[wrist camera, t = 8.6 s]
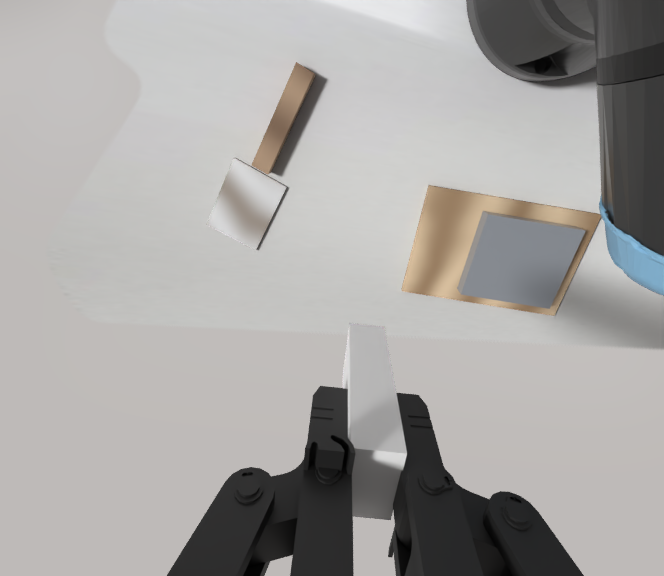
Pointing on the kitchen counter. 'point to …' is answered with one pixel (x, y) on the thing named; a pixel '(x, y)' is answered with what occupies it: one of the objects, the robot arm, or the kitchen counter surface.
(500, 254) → the tile
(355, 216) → the kitchen counter surface
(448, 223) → the board
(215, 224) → the turner
